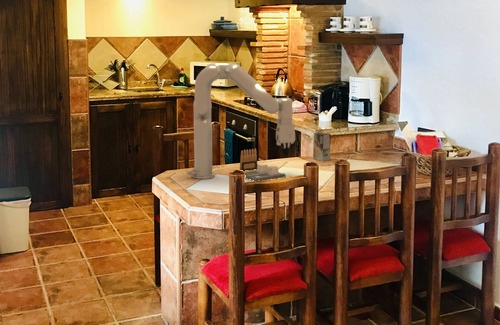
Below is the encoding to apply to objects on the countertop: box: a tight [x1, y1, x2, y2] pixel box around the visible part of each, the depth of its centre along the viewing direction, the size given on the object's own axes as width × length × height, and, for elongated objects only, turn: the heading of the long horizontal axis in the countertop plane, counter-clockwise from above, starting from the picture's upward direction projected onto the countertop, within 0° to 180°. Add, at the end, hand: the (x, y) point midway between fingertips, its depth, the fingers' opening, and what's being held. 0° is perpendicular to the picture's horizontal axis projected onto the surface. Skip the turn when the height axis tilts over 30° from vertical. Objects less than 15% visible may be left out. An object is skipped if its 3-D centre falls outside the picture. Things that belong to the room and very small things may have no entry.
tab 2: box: [268, 164, 279, 175], centre depth 352 cm, size 4×4×4 cm
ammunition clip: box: [239, 147, 258, 172], centre depth 367 cm, size 11×2×12 cm, turn 123°
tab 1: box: [256, 163, 269, 173], centre depth 356 cm, size 4×4×4 cm
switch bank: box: [244, 170, 287, 182], centre depth 353 cm, size 20×14×2 cm
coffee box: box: [312, 131, 332, 162], centre depth 395 cm, size 9×6×16 cm
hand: (285, 154), depth 354 cm, fingers closed
